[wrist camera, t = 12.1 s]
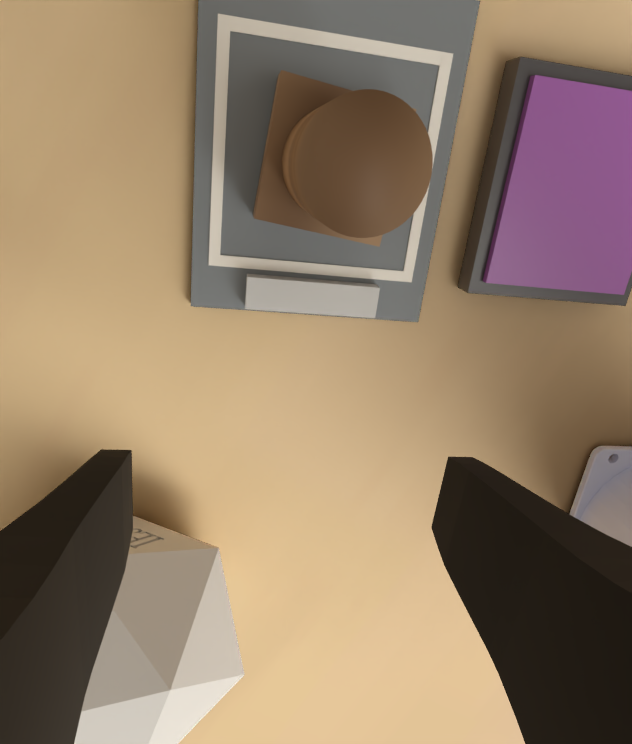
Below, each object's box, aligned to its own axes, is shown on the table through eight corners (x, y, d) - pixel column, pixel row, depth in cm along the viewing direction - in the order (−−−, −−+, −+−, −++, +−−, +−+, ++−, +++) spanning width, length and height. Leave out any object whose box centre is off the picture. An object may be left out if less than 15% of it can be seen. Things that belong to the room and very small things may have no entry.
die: (226, 458, 23) (12, 557, 14) (316, 645, 22) (147, 873, 14) (112, 518, 27) (-114, 625, 18) (185, 679, 26) (-15, 876, 17)
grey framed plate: (476, 3, 17) (488, -5, 16) (415, 319, 21) (423, 326, 20) (200, -50, 16) (198, -61, 15) (191, 304, 20) (189, 310, 19)
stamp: (401, 113, 18) (475, 93, 12) (368, 240, 19) (421, 272, 14) (277, 77, 17) (298, 39, 11) (252, 213, 18) (261, 237, 13)
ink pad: (677, 91, 19) (706, 86, 18) (609, 299, 22) (630, 307, 21) (505, 61, 18) (525, 55, 17) (457, 287, 21) (470, 294, 20)
